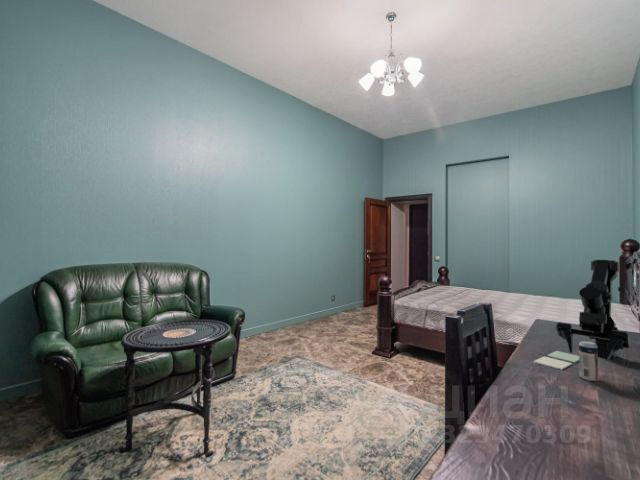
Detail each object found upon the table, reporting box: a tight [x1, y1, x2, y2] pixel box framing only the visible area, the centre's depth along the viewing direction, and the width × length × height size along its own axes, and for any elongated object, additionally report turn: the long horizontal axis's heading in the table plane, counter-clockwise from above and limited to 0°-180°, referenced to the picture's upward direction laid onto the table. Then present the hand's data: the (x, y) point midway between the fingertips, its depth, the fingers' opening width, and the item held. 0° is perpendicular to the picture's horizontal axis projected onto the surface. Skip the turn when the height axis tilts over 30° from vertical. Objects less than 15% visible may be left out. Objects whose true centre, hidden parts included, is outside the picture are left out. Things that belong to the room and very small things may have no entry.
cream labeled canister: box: [578, 340, 599, 382], centre depth 105 cm, size 5×5×12 cm
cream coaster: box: [533, 356, 573, 371], centre depth 118 cm, size 9×9×1 cm
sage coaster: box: [546, 350, 579, 364], centre depth 125 cm, size 9×9×1 cm
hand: (588, 355), depth 105 cm, fingers open, 9 cm apart
